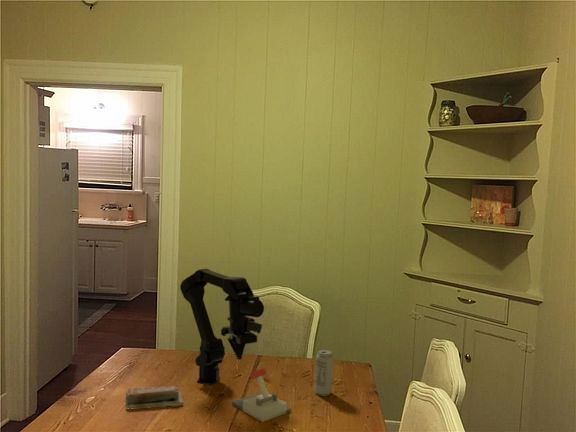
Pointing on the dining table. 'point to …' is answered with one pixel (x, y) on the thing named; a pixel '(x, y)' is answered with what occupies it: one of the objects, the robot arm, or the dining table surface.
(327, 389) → the energy drink can
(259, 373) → the switch lever
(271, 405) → the switch panel
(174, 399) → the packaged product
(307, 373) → the dining table surface
